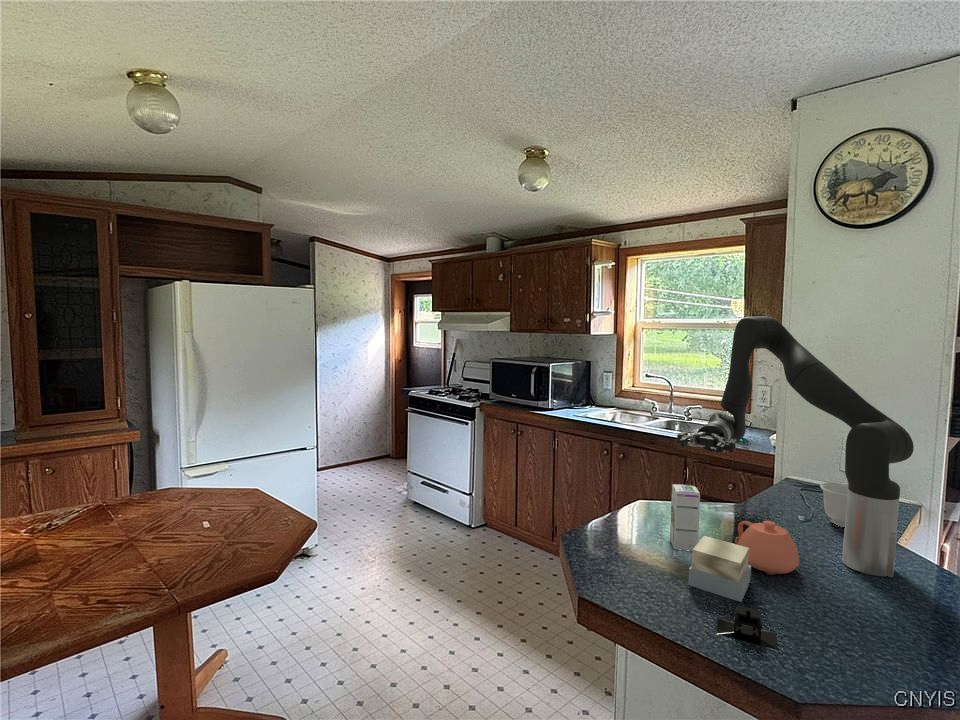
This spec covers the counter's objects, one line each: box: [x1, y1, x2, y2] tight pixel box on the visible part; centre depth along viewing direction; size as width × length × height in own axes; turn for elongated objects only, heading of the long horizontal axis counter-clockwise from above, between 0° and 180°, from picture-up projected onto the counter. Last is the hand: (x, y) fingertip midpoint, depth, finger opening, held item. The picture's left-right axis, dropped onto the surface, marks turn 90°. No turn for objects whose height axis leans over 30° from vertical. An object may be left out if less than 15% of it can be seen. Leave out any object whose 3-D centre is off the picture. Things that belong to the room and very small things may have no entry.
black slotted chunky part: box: [716, 604, 779, 651], centre depth 90 cm, size 12×7×5 cm, turn 64°
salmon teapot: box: [734, 520, 800, 576], centre depth 116 cm, size 12×14×10 cm
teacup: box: [819, 482, 848, 528], centre depth 142 cm, size 12×15×10 cm
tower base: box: [687, 564, 752, 603], centre depth 107 cm, size 10×10×4 cm
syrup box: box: [669, 483, 701, 552], centre depth 124 cm, size 6×6×14 cm
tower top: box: [690, 535, 749, 583], centre depth 106 cm, size 9×9×4 cm
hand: (699, 446), depth 132 cm, fingers open, 8 cm apart
